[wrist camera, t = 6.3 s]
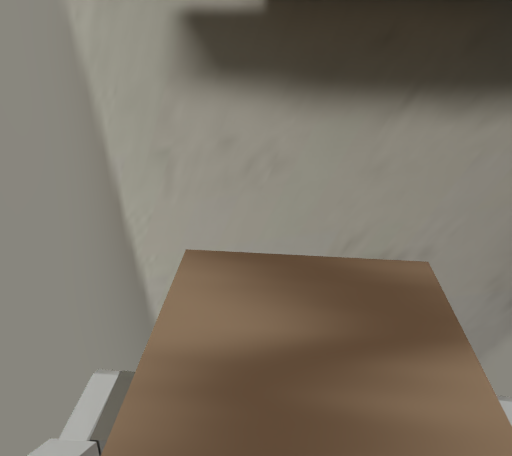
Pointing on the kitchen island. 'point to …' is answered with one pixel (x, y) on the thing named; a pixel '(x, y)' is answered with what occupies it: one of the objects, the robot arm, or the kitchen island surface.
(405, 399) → the walnut block
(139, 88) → the kitchen island surface
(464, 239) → the kitchen island surface
